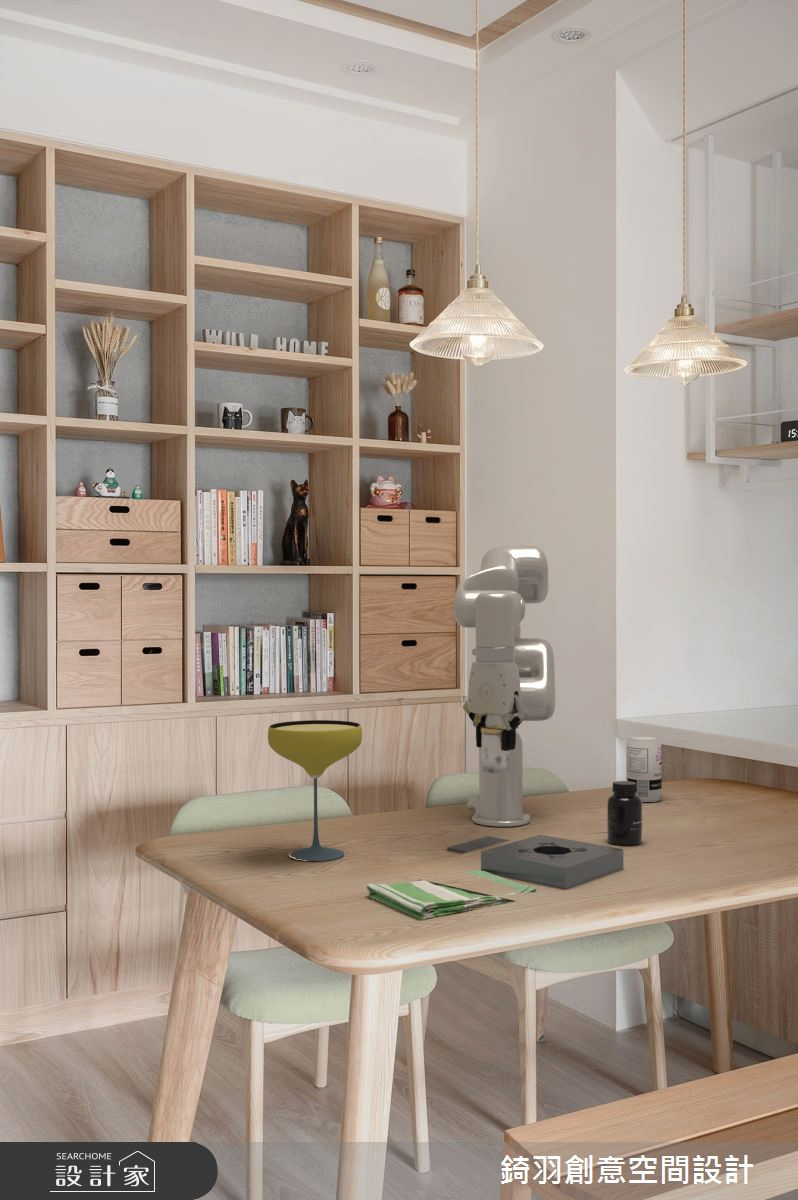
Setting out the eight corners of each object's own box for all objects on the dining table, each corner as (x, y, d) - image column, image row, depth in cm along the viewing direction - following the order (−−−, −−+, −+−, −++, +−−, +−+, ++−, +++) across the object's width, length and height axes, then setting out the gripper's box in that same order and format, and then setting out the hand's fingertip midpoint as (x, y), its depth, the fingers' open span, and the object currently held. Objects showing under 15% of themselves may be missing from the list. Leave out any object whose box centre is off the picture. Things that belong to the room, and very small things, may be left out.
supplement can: (622, 797, 272) (621, 736, 271) (655, 796, 272) (654, 735, 272) (632, 803, 264) (632, 740, 263) (666, 802, 264) (666, 739, 264)
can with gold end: (474, 770, 217) (474, 727, 217) (492, 766, 222) (492, 724, 221) (498, 774, 214) (498, 730, 213) (516, 769, 218) (516, 727, 218)
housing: (481, 876, 197) (480, 851, 197) (540, 858, 211) (540, 834, 211) (566, 895, 185) (566, 868, 185) (623, 874, 199) (623, 849, 198)
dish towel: (539, 900, 184) (539, 884, 184) (422, 925, 171) (422, 907, 171) (474, 878, 199) (474, 862, 199) (362, 898, 186) (362, 882, 186)
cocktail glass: (270, 845, 223) (268, 720, 222) (360, 843, 224) (359, 719, 224) (267, 868, 205) (266, 732, 204) (365, 865, 206) (364, 730, 206)
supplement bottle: (642, 847, 219) (642, 786, 219) (607, 845, 221) (606, 785, 221) (642, 839, 226) (641, 780, 226) (607, 838, 228) (607, 779, 227)
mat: (447, 850, 218) (447, 847, 218) (488, 839, 227) (488, 836, 227) (500, 860, 209) (500, 857, 209) (540, 848, 219) (540, 845, 219)
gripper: (448, 655, 220) (449, 746, 220) (519, 659, 208) (520, 755, 209) (472, 652, 226) (472, 741, 226) (542, 656, 214) (543, 750, 215)
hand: (495, 747), depth 218 cm, fingers closed on can with gold end, 5 cm apart
